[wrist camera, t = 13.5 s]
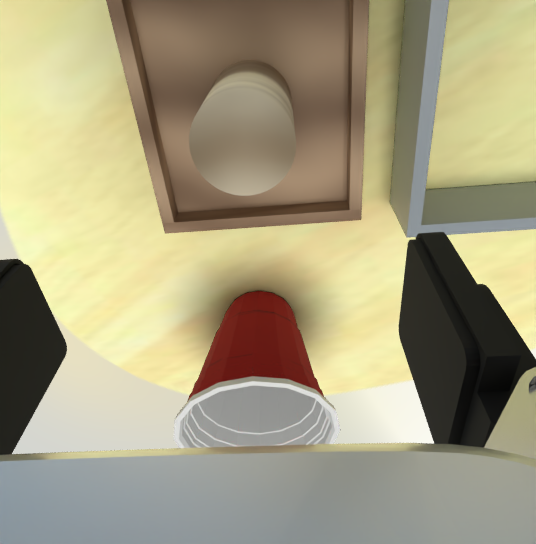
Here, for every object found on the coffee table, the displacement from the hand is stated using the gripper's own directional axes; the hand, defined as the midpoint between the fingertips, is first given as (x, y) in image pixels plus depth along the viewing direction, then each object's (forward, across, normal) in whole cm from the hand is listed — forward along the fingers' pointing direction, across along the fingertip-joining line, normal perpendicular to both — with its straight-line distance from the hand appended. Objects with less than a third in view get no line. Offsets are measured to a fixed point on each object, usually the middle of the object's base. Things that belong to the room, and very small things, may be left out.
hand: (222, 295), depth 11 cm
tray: (+20, 0, 0) cm, 20 cm away
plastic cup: (+20, +1, +18) cm, 27 cm away
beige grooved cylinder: (+20, 0, 0) cm, 20 cm away
